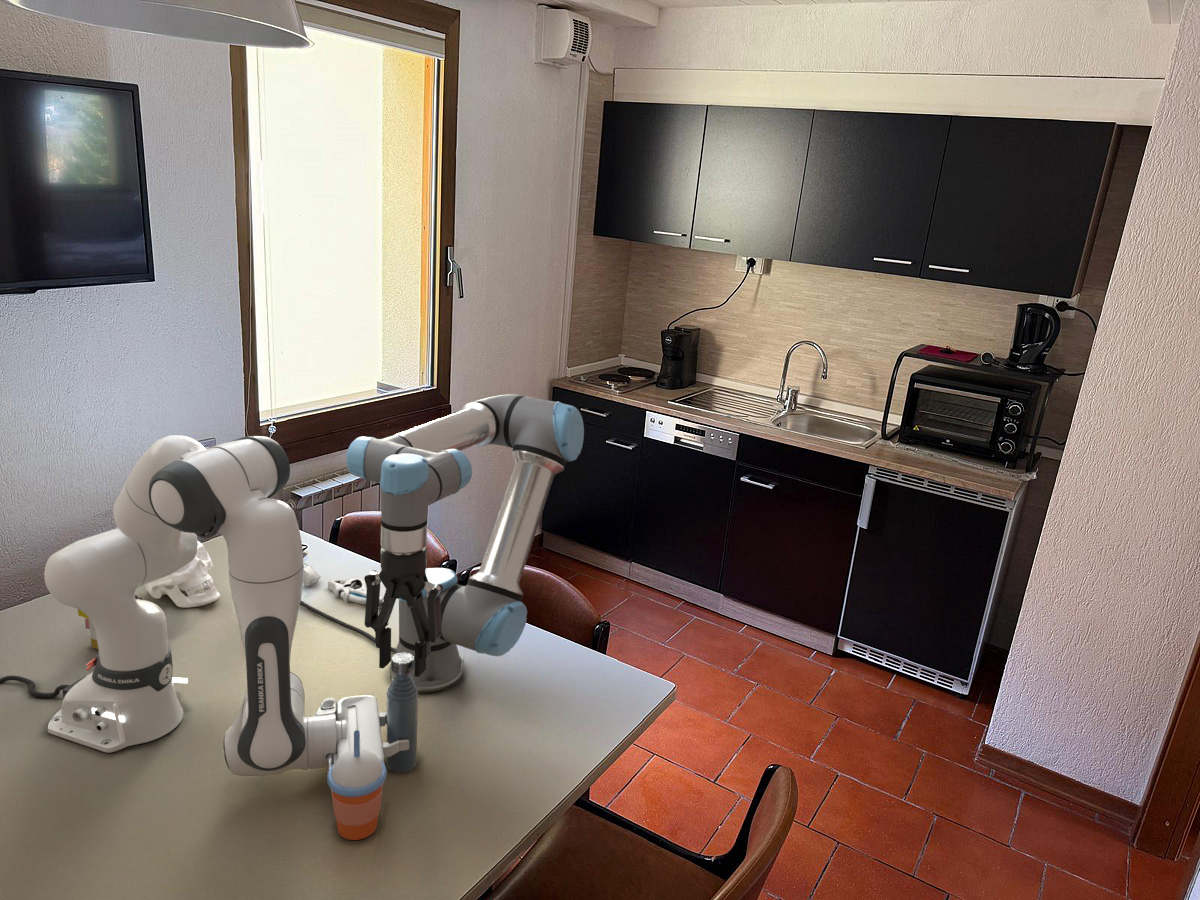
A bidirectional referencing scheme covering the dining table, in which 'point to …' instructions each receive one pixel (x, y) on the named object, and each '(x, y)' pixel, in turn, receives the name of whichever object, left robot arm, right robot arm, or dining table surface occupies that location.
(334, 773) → the cup with straw
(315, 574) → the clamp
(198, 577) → the skull
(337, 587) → the toy gun
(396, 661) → the cap
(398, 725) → the bottle
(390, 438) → the right robot arm
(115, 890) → the dining table surface
